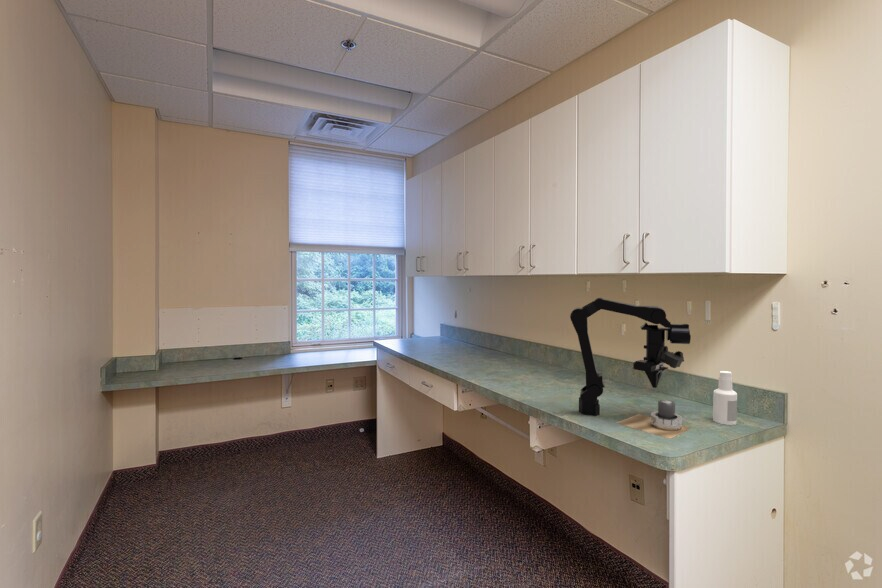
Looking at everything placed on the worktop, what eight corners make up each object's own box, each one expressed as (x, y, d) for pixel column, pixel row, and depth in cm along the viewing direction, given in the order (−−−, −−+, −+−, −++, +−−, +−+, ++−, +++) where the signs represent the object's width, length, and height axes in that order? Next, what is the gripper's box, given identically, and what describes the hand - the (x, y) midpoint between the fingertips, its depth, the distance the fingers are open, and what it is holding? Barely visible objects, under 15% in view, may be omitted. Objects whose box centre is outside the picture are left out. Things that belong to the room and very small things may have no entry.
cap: (654, 419, 144) (655, 401, 144) (662, 416, 147) (662, 398, 147) (670, 423, 140) (670, 405, 140) (677, 420, 143) (677, 402, 143)
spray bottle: (739, 428, 144) (740, 374, 143) (715, 426, 146) (716, 373, 145) (733, 422, 150) (734, 370, 149) (710, 419, 153) (711, 369, 152)
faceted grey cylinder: (645, 425, 145) (645, 415, 145) (659, 419, 150) (659, 409, 150) (673, 433, 138) (673, 422, 137) (687, 426, 143) (687, 416, 143)
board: (615, 425, 148) (615, 422, 148) (639, 416, 157) (639, 413, 157) (669, 441, 133) (670, 438, 133) (692, 430, 142) (692, 427, 142)
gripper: (665, 349, 138) (665, 397, 139) (692, 342, 149) (691, 387, 150) (632, 344, 147) (631, 390, 148) (659, 339, 158) (659, 381, 159)
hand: (654, 387), depth 151 cm, fingers closed
